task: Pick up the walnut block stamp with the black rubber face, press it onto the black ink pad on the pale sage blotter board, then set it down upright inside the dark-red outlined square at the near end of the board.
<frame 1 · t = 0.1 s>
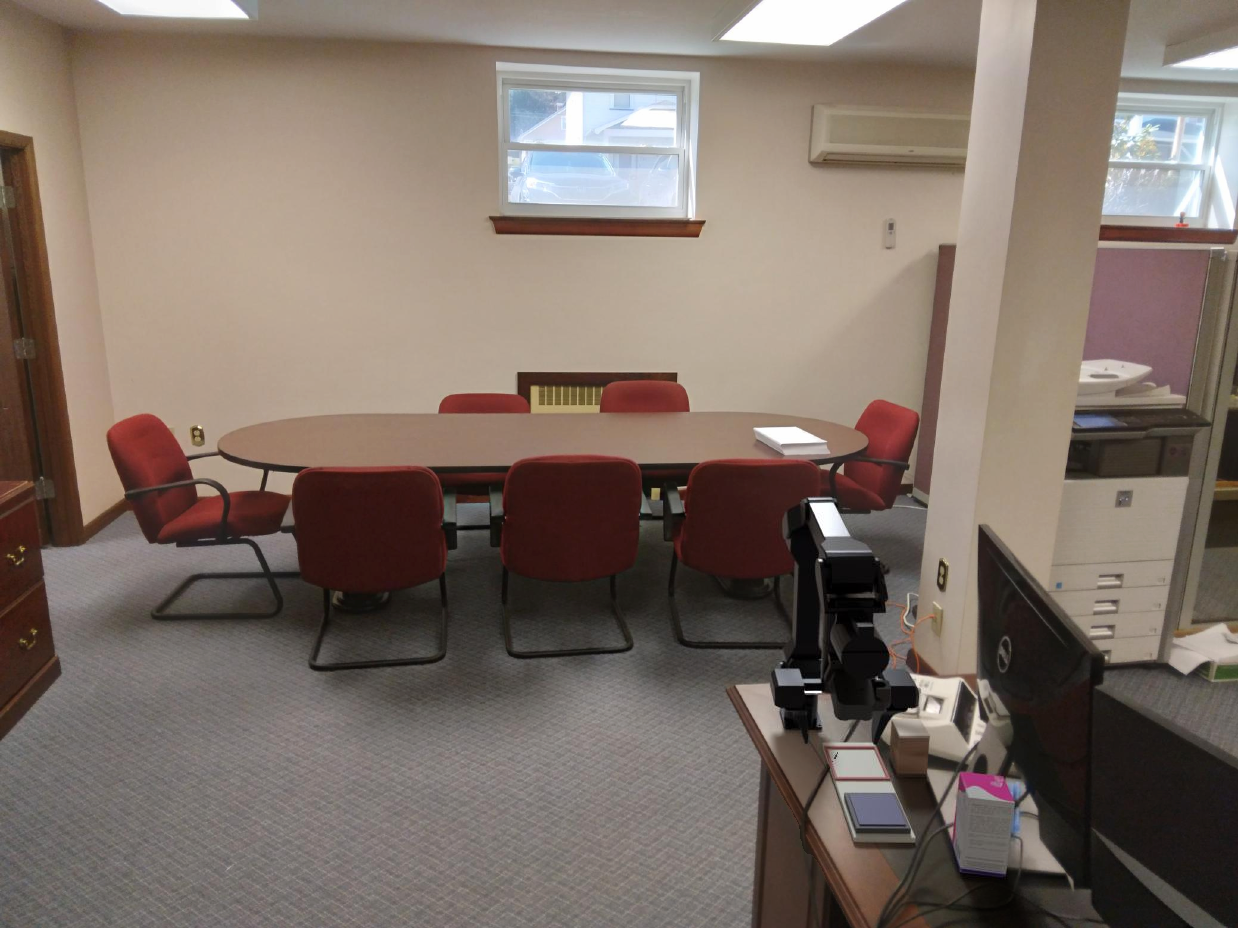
hand: (839, 742, 107), 15 cm above the table, fingers open, 9 cm apart
supplement box: (978, 860, 106), on the table
stamp: (907, 767, 125), on the table
blotter board: (864, 790, 120), on the table
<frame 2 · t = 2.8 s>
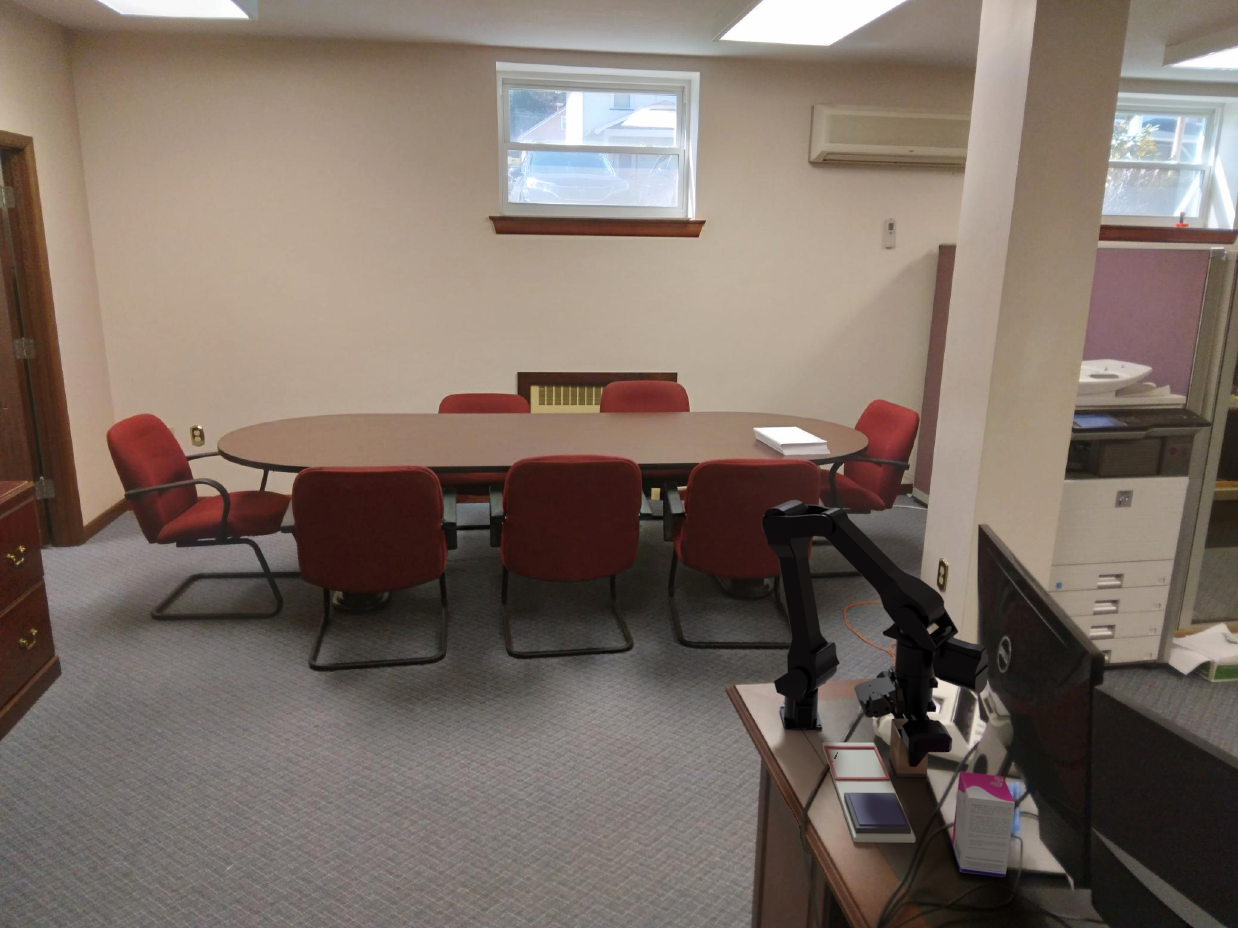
hand: (908, 756, 124), 2 cm above the table, fingers closed on stamp, 4 cm apart
stamp: (907, 767, 125), on the table, touching gripper
everything else where it was.
when the fingers open (4 cm above the table, at t = 10.0 s): stamp stays where it is, resting on blotter board.
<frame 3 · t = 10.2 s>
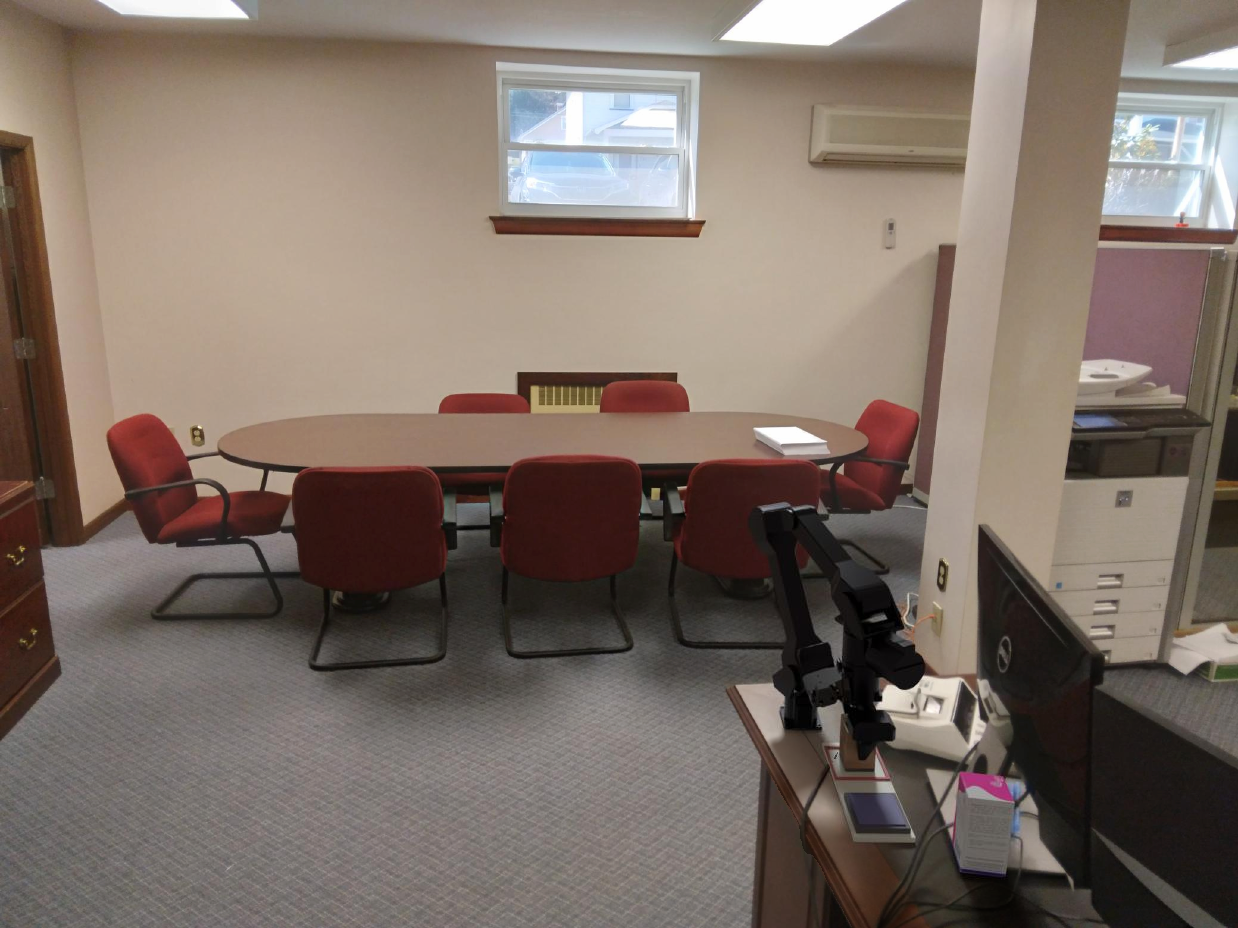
hand: (856, 746, 124), 4 cm above the table, fingers open, 6 cm apart
stamp: (856, 762, 125), point 1 cm above the table, touching blotter board
everything else where it was.
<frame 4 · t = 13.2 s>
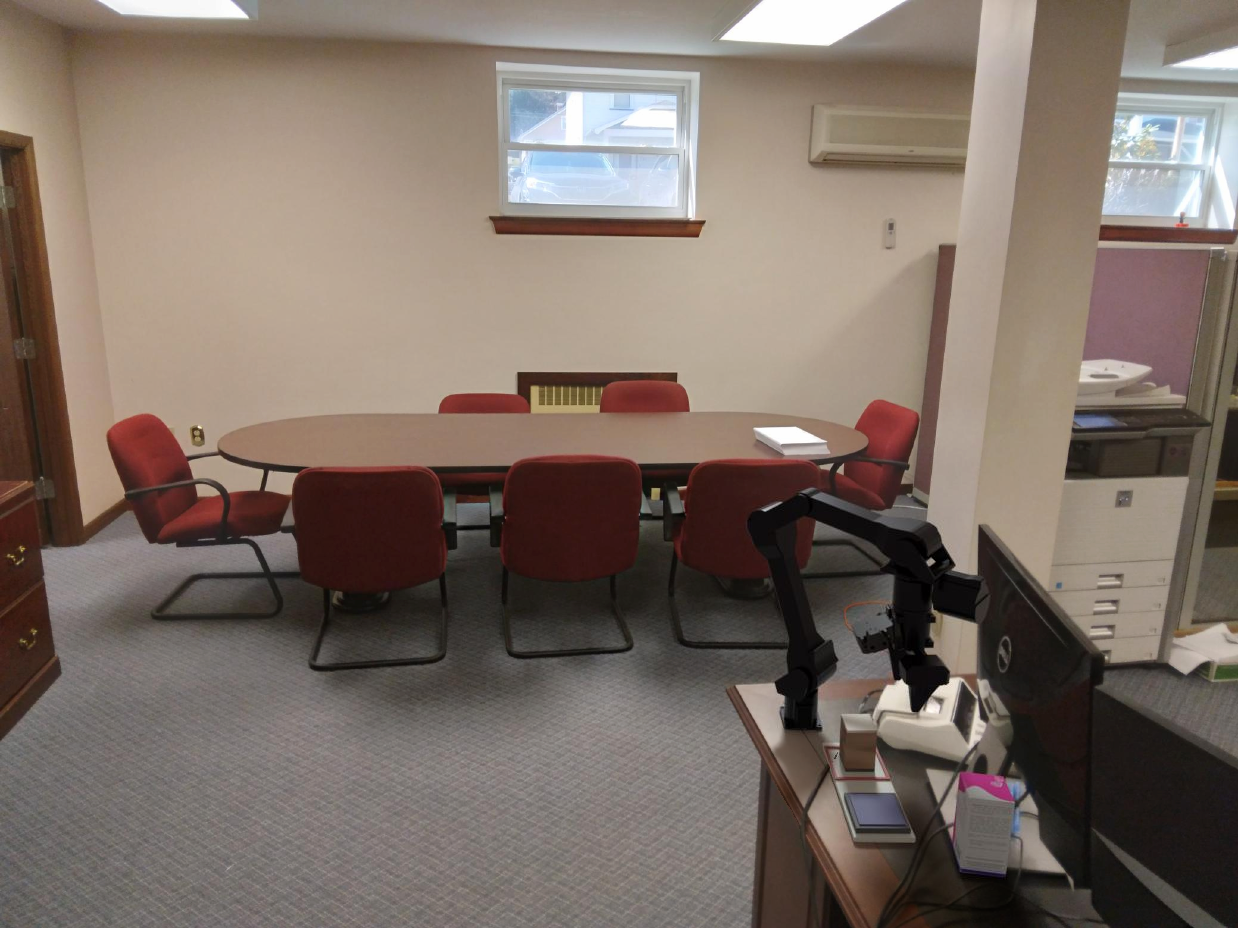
hand: (905, 695, 123), 12 cm above the table, fingers open, 9 cm apart
nothing on the table moved.
at the end: stamp inside the target area (0.1 cm from its centre), point 0.8 cm above the table; stamp tilted 0°; the gripper is holding nothing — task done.
